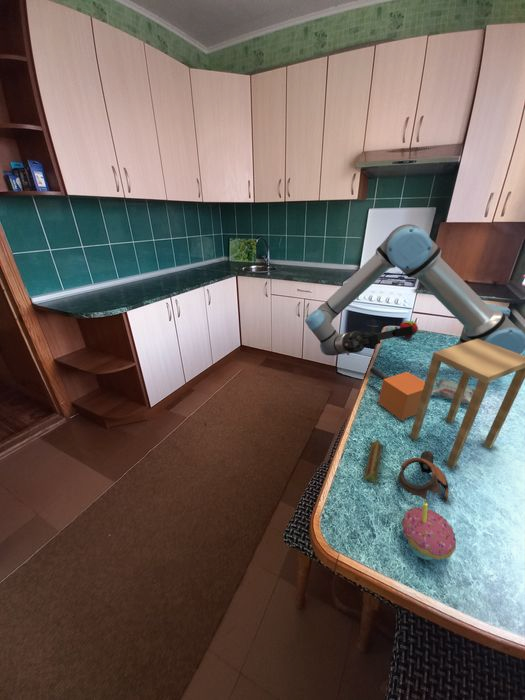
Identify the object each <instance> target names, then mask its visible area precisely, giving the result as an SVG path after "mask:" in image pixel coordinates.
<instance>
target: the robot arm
mask: <svg viewBox="0 0 525 700" xmlns="http://www.w3.org/2000/svg"><path fill="white" fill-rule="evenodd" d="M395 268H397V269H399V270H400V271H401V272H402V273H403V274H404V275H405V276H406V277H407V278H408V279H409V278H410V279H411V278H412V279H413V278H415V279H416V280H417V281H419V283H421V284H422V286H424V287H425V288H426V289H427V290H428V291H429V292H430V294H431V295H433V297H434V298H436V299H437V300H438V302H439V303H440V304H441V305H443V306H444V308H445V309H447V311H449V313H451V314H452V316H454V317H455V318H456V320H457V321H459V323H460V324H462V326H463V327H462V330H461V334H460V337H459V340H458V342H457V343H456V344H455V345H459V344H462V343H465V342H468V341H472V340H475V339H480V340H482V341H485V342H488V343H491V344H493V345H496V346H499V347H501V348H504V349H507V350H510V351H512V352H515V353H518V354H520V355H522V353H523V352H524V351H525V332H524V331H523V330H522V329H519V328H518V326H517V325H515V323H513V321H511V319H510V318H509V317H510V316H511V309H510V308H508V307H506V306H503V305H495V304H487V303H486V302H485V301H484V300H483V299H482V298H481V297H480V296H479V295H478V294H477V293H476V292H475V291H474V290H473V289H472V288H471V287H470V285H468V283H466V282H465V280H463V279H462V278H461V276H459V275H458V273H456V272H455V271H454V270H453V269H452V267H451V266H450V265H449V264H448V263H447V262H446V261H445V260H444V259H443V258H442V249H441V248H440V247H439V245H437V244H436V243H435V242H434V241H433V240H432V239H431V237H430V235H429V234H428V232H426V231H425V230H424V229H423V228H421V227H418V226H417V225H414V224H407V223H406V224H402V225H399V226H397V227H396V228H394V229H393V230H392V231H391V232H390V233H389V234H388V236H386V238H385V239H384V240H383V241H382V243H381V244H380V245H379V246H378V247H377V248H376V249H375V254H373V255H372V257H370V258H369V259H368V261H366V262H365V263H364V264H363V265H362V266H361V267H360V268H359V269H358V270H357V271H356V272H355V273H354V274H353V275H352V276H350V278H349V279H347V281H346V282H345V283H343V285H341V286H340V287H339V288H338V289H337V290H336V291H335V292H334V293H333V294H332V295H331V296H330V297H329V298H328V299H327V300H326V301H325V302H324V303H322V304H320V305H319V306H318V308H317V309H315V310H314V311H312V312H311V313H309V314H308V315H307V317H306V318H305V319H304V322H305V324H306V325H307V328H308V329H309V330H310V331H311V332H312V333H313V335H314V336H315V338H317V340H318V341H319V342H320V344H319V348H320V351H321V353H322V354H324V355H325V356H332V357H333V356H337V355H338V356H339V355H347V356H349V355H350V354H354V353H355V354H356V353H360V352H362V351H363V350H364V349H365V347H367V346H374V345H380V344H382V342H381V341H384V340H388V339H393V338H402V337H404V336H408V335H412V336H414V335H416V333H414V329H413V326H408V327H403V328H400V327H398V326H395V327H394V329H391V330H386V331H382V332H377V333H376V332H372V333H371V332H370V333H364V334H363V333H362V332H360V331H358V330H353V331H350V332H345V333H344V332H343V333H341V334H339V332H337V330H336V328H335V327H334V325H332V323H333V320H334V319H336V318H337V316H339V315H340V314H341V313H342V312H343V311H344V310H345V309H346V308H347V307H349V306H350V304H352V303H353V302H354V301H355V300H356V299H358V297H360V296H361V295H362V294H363V293H364V292H365V291H367V290H368V288H370V287H371V286H372V285H373V284H374V283H375V282H377V281H378V280H379V279H381V277H382V276H383V275H384V274H385V273H386V272H388V271H389V269H395Z"/></svg>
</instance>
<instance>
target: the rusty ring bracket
mask: <svg viewBox="0 0 525 700" xmlns="http://www.w3.org/2000/svg"><path fill="white" fill-rule="evenodd" d="M434 458H435V457H434V454H433V452H432V451H430V450H423V451H422V452H421V454H420V457H411V458H408V459H406V460H404V461H403V463H401V465H400V467H401V469H400V471H399V473H398V483H399V485H400V486H401V487H402V489H403V490H404V491H405V493H408V494H410V495H412V496H417V497H419V498H422V499H424V500H426V501H428V492H430V493H431V494H436V495H441V494H442V489H441V487H442V488H443V489H444V495H443V497H444V501H445V502H448V500H449V493H450V490H449V483H448V480H447V477H446V475H445V474H444V472H443V471H442V469H440V467H438V466H437V465H436V464H434V462H435V461H434V460H435V459H434ZM415 463H418V465H419V468H420V472H421V473H425V474H427V475H430V474H431V477H430V479H429V481H428V482H426V483H424V484H420V485H419V484H418V485H417V484H413V483H411V482H409V481H408V479H406V478H405V473H404V472H405V470H406V469H407V468H408V466H410V465H412V464H415ZM440 485H441V487H440Z"/></svg>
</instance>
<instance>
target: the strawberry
mask: <svg viewBox="0 0 525 700" xmlns="http://www.w3.org/2000/svg"><path fill="white" fill-rule="evenodd" d="M408 326H413V329H414V333H415V334H416V333H417V332H418V330H419V327H418V325H417V323H416V322H415V321H414V320H404V321H403V322H401V323H400V325H399V328H403V327H408ZM403 337H404V339H405V340H406V339H407V340H408V339H409V338H411V337H413V335H408V336H403Z"/></svg>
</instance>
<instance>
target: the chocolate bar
mask: <svg viewBox="0 0 525 700" xmlns="http://www.w3.org/2000/svg"><path fill="white" fill-rule="evenodd" d="M369 449H370V450H369V454H368V458H367V462H366V463H367V464H366V468H365V473H364V478H363V480H366V481H369V482H370V483H374V484H377V479H378V473H379V467H380V461H381V457H382V456H381V454H382V449H383V446H382V444H381V442H380V440H379V439H376V440H374V441H373V442H371V445H370V448H369Z"/></svg>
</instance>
